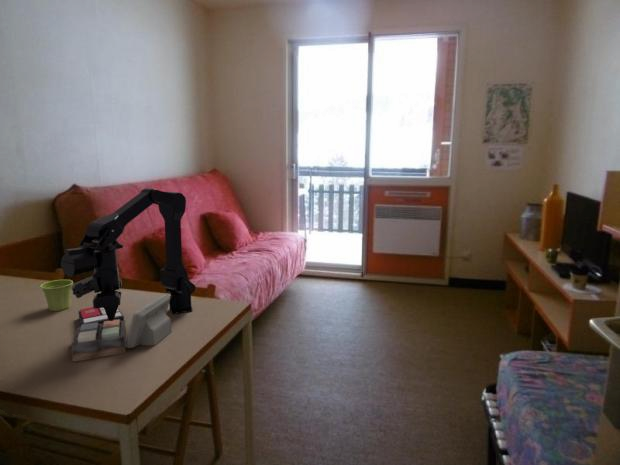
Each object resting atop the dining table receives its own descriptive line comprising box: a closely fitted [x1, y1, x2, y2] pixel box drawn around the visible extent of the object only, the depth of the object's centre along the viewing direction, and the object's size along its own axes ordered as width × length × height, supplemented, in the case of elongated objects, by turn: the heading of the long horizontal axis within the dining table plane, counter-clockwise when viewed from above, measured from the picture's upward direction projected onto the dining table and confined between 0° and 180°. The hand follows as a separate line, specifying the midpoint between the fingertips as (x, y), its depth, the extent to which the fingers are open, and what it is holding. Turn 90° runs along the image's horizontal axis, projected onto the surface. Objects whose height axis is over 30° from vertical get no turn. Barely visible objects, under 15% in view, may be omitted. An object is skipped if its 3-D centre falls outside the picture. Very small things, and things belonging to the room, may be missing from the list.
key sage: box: [102, 327, 120, 339], centre depth 108 cm, size 4×4×2 cm
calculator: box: [77, 306, 125, 327], centre depth 125 cm, size 11×4×15 cm
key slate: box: [80, 322, 99, 332], centre depth 111 cm, size 4×4×2 cm
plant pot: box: [40, 279, 74, 312], centre depth 137 cm, size 9×9×9 cm
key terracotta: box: [103, 319, 120, 329], centre depth 113 cm, size 4×4×2 cm
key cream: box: [78, 330, 97, 343], centre depth 106 cm, size 4×4×2 cm
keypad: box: [71, 319, 127, 362], centre depth 110 cm, size 12×14×4 cm
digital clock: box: [125, 294, 172, 349], centre depth 114 cm, size 16×9×11 cm, turn 158°
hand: (111, 320), depth 113 cm, fingers closed
